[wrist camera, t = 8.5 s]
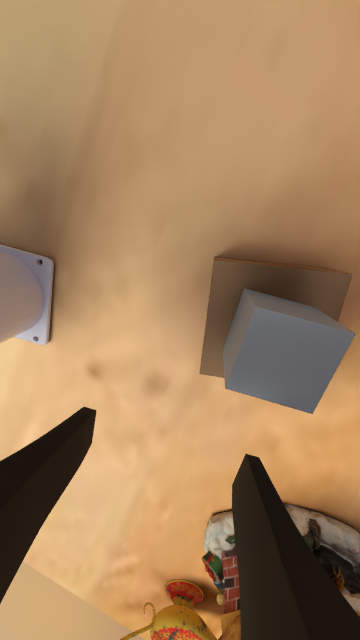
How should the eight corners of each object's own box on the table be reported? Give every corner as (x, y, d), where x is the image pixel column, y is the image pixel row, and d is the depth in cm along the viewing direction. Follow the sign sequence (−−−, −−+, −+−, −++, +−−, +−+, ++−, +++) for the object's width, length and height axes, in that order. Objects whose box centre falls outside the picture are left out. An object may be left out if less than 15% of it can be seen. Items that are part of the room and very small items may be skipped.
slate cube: (222, 350, 17) (225, 388, 12) (244, 287, 15) (255, 306, 11) (287, 369, 16) (312, 413, 12) (315, 307, 15) (355, 333, 11)
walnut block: (202, 350, 21) (199, 373, 17) (214, 256, 19) (214, 260, 15) (297, 363, 20) (315, 391, 17) (323, 267, 18) (352, 274, 14)
